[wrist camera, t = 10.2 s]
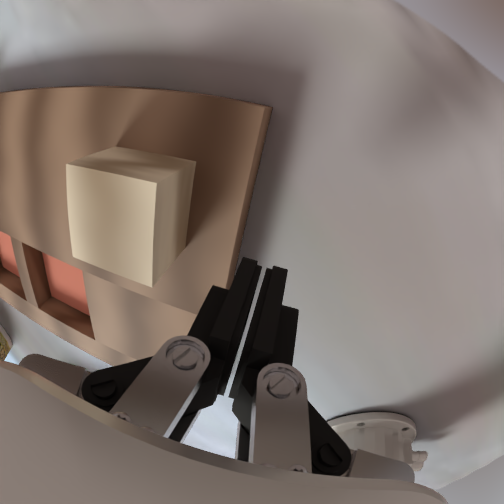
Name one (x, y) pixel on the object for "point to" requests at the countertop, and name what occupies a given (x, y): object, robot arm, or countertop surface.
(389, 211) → the countertop surface
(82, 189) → the birch block
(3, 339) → the ceramic cup
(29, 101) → the board
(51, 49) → the countertop surface
